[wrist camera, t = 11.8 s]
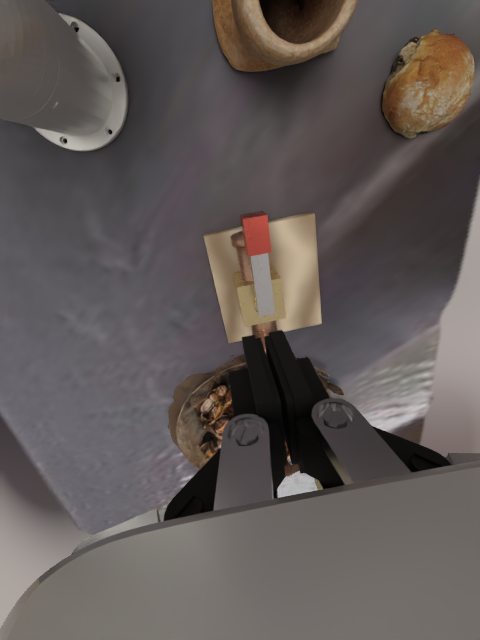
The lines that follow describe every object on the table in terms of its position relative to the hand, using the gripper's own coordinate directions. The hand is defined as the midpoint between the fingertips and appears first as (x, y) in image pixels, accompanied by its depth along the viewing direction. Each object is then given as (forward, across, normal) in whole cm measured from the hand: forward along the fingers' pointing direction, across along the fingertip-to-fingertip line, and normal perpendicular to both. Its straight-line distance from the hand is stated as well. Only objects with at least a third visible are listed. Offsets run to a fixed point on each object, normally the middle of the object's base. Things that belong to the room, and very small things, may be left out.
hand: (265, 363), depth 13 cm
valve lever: (+26, -3, +4) cm, 27 cm away
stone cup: (+35, -10, -20) cm, 42 cm away
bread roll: (+36, -27, -12) cm, 46 cm away
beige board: (+35, -5, +10) cm, 37 cm away
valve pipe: (+34, -3, +10) cm, 35 cm away
